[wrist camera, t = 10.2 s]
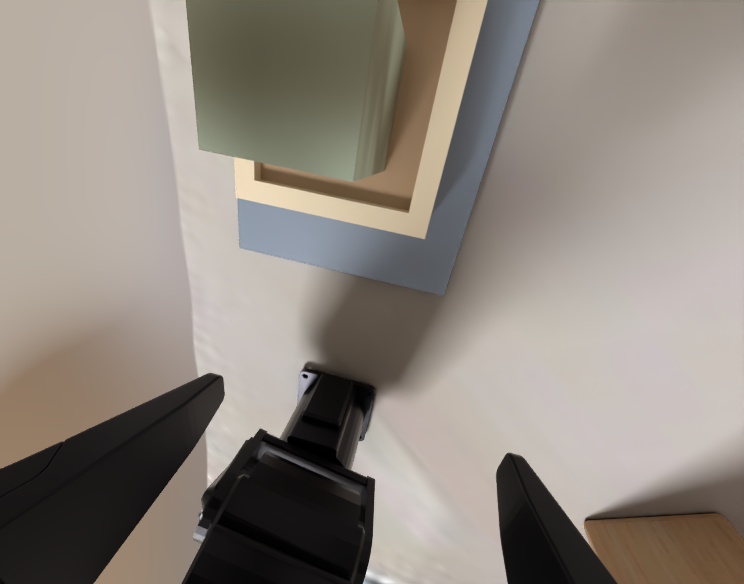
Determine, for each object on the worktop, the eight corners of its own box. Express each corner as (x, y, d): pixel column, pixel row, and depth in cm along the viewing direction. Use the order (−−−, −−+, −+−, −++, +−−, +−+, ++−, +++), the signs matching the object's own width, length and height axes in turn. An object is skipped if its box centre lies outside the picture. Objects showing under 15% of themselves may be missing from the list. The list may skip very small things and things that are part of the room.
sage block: (384, 170, 13) (352, 182, 8) (290, 151, 13) (198, 149, 8) (407, 45, 11) (385, -57, 6) (296, 27, 11) (178, -84, 6)
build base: (443, 289, 19) (446, 326, 15) (247, 243, 20) (202, 266, 16) (574, -120, 11) (657, -280, 7) (237, -156, 12) (142, -310, 8)
